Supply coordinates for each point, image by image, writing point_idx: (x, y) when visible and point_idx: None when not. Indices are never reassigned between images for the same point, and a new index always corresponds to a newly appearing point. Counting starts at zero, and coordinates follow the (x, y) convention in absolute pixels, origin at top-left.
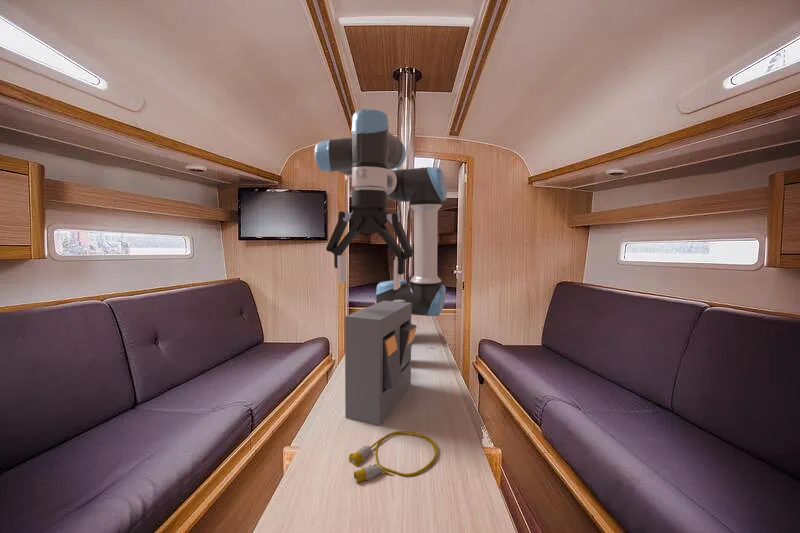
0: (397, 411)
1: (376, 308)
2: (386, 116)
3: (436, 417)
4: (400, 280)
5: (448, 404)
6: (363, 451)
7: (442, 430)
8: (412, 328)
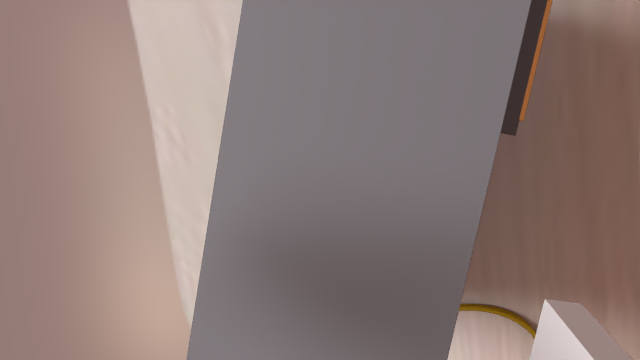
0: None
1: (305, 172)
2: None
3: (545, 207)
4: (619, 346)
5: (588, 118)
6: None
7: (563, 271)
8: (532, 58)
